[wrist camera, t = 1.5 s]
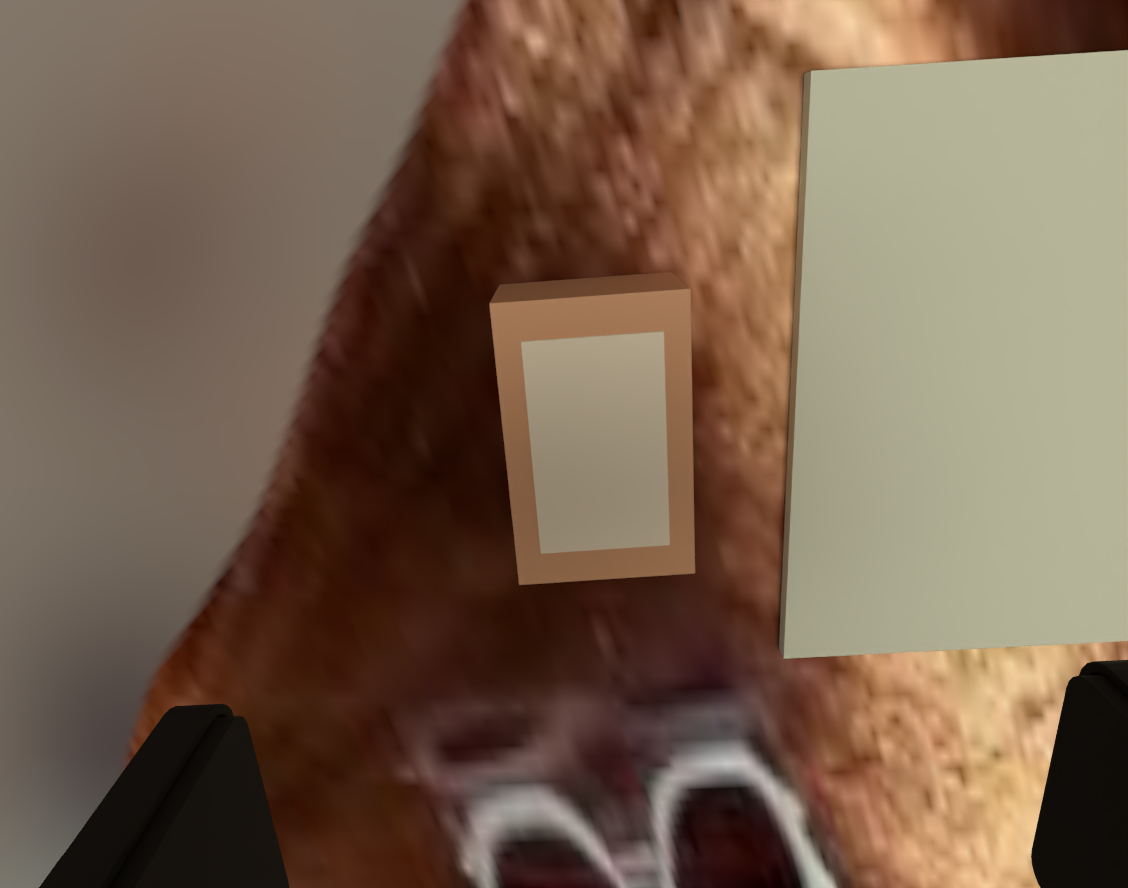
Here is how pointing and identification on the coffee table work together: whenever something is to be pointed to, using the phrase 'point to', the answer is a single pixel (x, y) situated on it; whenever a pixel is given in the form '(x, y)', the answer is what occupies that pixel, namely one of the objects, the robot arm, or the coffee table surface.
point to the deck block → (597, 425)
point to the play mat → (959, 359)
